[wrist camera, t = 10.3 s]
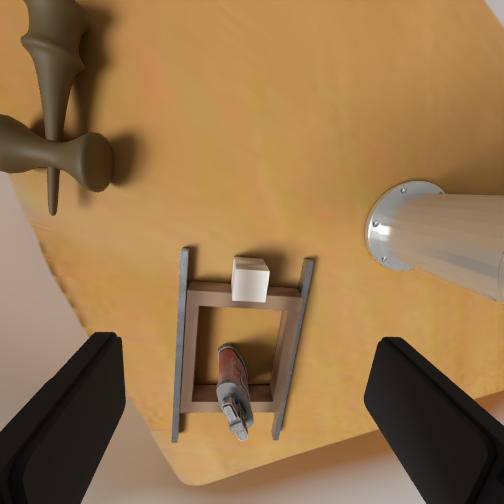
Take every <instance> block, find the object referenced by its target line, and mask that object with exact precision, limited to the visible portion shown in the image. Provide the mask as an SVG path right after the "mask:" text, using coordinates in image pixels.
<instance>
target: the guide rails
mask: <svg viewBox="0 0 504 504" xmlns="http://www.w3.org/2000/svg"><path fill="white" fill-rule="evenodd" d="M189 255H190V248H184V247H183V248H182V249H181V257H180V278H179V299H178V320H177V340H176V361H175V382H174V403H173V424H172V443H177V442H178V437H179V427H180V408H181V391H182V374H183V356H184V339H185V322H186V304H187V289H188V272H189ZM313 264H314V262H313V261H312V260H311V259H307V258H304V261H303V267H302V272H301V277H300V282H299V288H298V291H299V293H300V294H301V295H302V297H303V301H302V307H301V312H300V317H299V322H298V327H297V332H296V337H295V342H294V347H293V352H292V358H291V363H290V368H289V373H288V378H287V383H286V388H285V393H284V398H283V403H282V409H281V412H275V415H274V421H273V426H272V437H273V440H278V439H279V434H280V429H281V424H282V419H283V414H284V409H285V404H286V399H287V394H288V389H289V384H290V379H291V374H292V369H293V364H294V359H295V354H296V349H297V344H298V339H299V334H300V329H301V324H302V319H303V314H304V309H305V304H306V299H307V294H308V289H309V284H310V279H311V274H312V269H313Z"/></svg>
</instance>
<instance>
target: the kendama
mask: <svg viewBox="0 0 504 504" xmlns="http://www.w3.org/2000/svg"><path fill="white" fill-rule="evenodd" d="M24 2H25V3H26V5H27V8H28V13H29V30H28V32H27V33H26V35H24V36H22V37H21V43H22V45H23V47H24V48H25V49H26V50H27V51H28V52H29V53H30V55H31V57H32V59H33V61H34V64H35V68H36V73H37V78H38V83H39V89H40V95H41V101H42V109H43V116H44V126H45V138H46V139H45V138H43V137H40V136H39V135H37V134H36V133H34V132H33V131H32V130H30V129H29V128H28V127H27V126H25V125H24V124H23V123H21V122H19V121H17V120H16V119H14V118H12V117H10V116H7V115H1V114H0V171H3V172H6V173H22V172H26V171H29V170H31V169H34V168H38V167H47V185H48V206H49V212H50V214H51V215H52V216H54V215H55V214H56V212H57V205H58V192H59V175H60V170H64V171H65V172H67V173H69V174H70V175H71V176H72V177H74V178H75V179H76V180H77V181H78V182H79V183H80V184H81V185H83V186H84V187H85V188H86V189H88V190H90V191H93V192H101V191H104V190H105V189H106V188H107V187H108V185H109V183H110V181H111V178H112V174H113V168H114V167H113V154H112V149H111V146H110V144H109V142H108V141H107V139H106V138H105V137H104V136H103V135H101V134H99V133H93V132H90V133H87V134H84V135H82V136H80V137H78V138H76V139H74V140H71V141H69V142H62V136H63V128H64V121H65V115H66V109H67V104H68V99H69V95H70V90H71V86H72V83H73V80H74V78H75V76H76V75H77V74H78V73H79V72H82V71H84V68H85V66H84V64H83V62H82V60H81V59H80V56H79V44H80V39H81V37H82V35H83V33H85V32H86V31H88V30H89V28H90V19H89V18H88V16H87V14H86V13H85V11H84V9H83V8H82V7H81V6H80V5H79V4H78V3H77V2H76V1H75V0H24Z"/></svg>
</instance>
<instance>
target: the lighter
mask: <svg viewBox="0 0 504 504" xmlns="http://www.w3.org/2000/svg"><path fill="white" fill-rule="evenodd" d="M218 358H219V381H218V384H217V397H218V401H219V404H220V406H221V409H222V411H223V413H224V414H225V416H226V418H227V419H228V422H229V427H230V431H231V432H232V434H233V433H236V435H237V437H238V439H239V440H240V441H243V440H246V439H247V438H248V430H247V429H248V428H249V427H251V426H252V424H253V421H254V420H253V413H252V409H251V405H250V395H249V389H248V373H247V368H246V366H245V363H244V360H243V358H242V356H241V355H240V353H239V351H238V350H237V349H236V348H235V346H234V345H233V344H230V343H226V344H223V345H221V346H220V347H219V349H218Z"/></svg>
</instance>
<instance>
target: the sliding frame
mask: <svg viewBox="0 0 504 504" xmlns="http://www.w3.org/2000/svg"><path fill="white" fill-rule="evenodd" d="M269 274H270V271H269V269H268V267H267V265H266V263H265V262H264V260H263V259H258V258H247V257H235V256H234V262H233V271H232V280H231V284H226V283H212V282H198V281H191V282H190V284H189V287H188V290H187V304H186V322H185V339H184V356H183V374H182V391H181V408H180V413H223V411H222V409H221V406H220V404H219V401H218V397H217V385H194V382H195V368H196V355H197V341H198V328H199V315H200V306H214V307H232V308H250V309H268V310H283V311H282V317H281V322H280V328H279V334H278V340H277V345H276V351H275V357H274V363H273V368H272V374H271V380H270V385H269V386H257V385H248V389H249V395H250V405H251V409H252V412H281V409H282V403H283V398H284V393H285V388H286V383H287V378H288V373H289V368H290V363H291V358H292V352H293V347H294V342H295V337H296V332H297V327H298V322H299V317H300V312H301V307H302V301H303V297H302V295H301V294H300V293H299V291H298V290H297V288H283V287H269V286H268V281H269Z"/></svg>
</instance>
